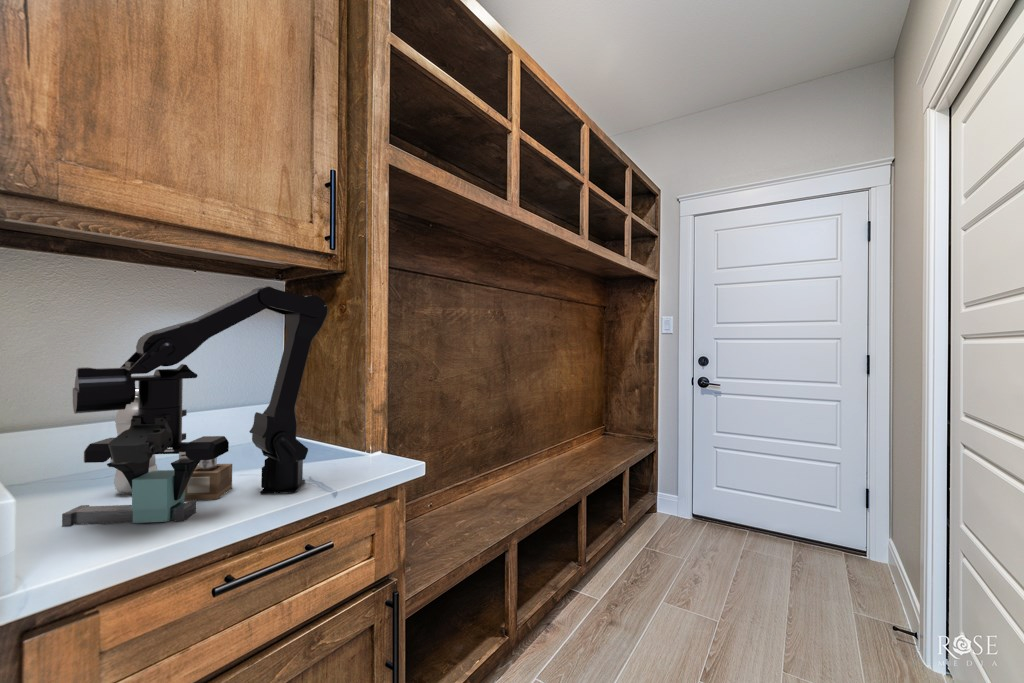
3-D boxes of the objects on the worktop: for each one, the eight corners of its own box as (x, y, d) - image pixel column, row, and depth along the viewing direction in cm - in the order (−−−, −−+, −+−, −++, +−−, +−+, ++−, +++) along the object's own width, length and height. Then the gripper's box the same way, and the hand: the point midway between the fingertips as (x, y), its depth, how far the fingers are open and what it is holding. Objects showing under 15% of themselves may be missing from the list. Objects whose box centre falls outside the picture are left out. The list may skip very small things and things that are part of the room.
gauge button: (222, 474, 86) (223, 446, 86) (213, 480, 82) (213, 451, 82) (202, 475, 85) (202, 447, 85) (192, 481, 82) (192, 451, 82)
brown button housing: (231, 488, 87) (232, 463, 87) (215, 500, 81) (216, 473, 81) (198, 489, 86) (199, 464, 86) (179, 501, 80) (180, 474, 80)
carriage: (184, 510, 75) (185, 469, 75) (166, 522, 71) (167, 478, 70) (152, 511, 75) (152, 470, 75) (131, 523, 70) (132, 479, 70)
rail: (196, 512, 75) (196, 501, 75) (183, 521, 72) (184, 509, 72) (80, 517, 72) (80, 505, 72) (62, 526, 69) (62, 514, 69)
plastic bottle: (166, 485, 88) (168, 386, 88) (139, 498, 81) (140, 390, 81) (133, 485, 88) (135, 386, 88) (103, 497, 81) (105, 390, 81)
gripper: (53, 415, 63) (51, 523, 63) (195, 414, 66) (193, 517, 66) (111, 403, 74) (109, 495, 74) (230, 403, 77) (229, 491, 77)
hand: (159, 500), depth 73 cm, fingers closed on carriage, 5 cm apart
